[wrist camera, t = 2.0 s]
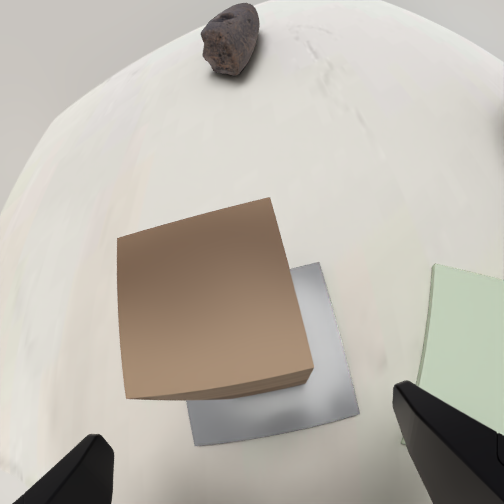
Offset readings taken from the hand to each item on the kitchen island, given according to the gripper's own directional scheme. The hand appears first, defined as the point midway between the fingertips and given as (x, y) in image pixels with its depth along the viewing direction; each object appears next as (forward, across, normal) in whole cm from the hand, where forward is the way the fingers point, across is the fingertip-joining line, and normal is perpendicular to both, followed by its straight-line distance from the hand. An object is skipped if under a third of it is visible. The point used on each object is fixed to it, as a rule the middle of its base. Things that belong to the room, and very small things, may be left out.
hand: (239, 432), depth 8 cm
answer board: (+6, -15, +9) cm, 19 cm away
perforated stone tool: (+35, -5, -19) cm, 40 cm away
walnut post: (+10, 0, +5) cm, 11 cm away
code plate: (+10, 0, +5) cm, 11 cm away
